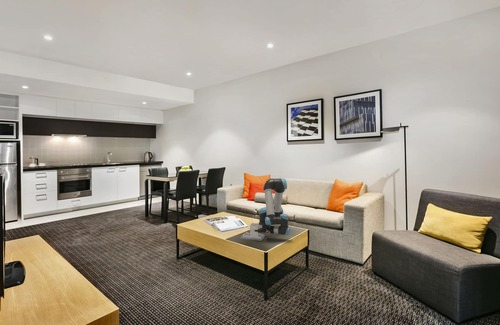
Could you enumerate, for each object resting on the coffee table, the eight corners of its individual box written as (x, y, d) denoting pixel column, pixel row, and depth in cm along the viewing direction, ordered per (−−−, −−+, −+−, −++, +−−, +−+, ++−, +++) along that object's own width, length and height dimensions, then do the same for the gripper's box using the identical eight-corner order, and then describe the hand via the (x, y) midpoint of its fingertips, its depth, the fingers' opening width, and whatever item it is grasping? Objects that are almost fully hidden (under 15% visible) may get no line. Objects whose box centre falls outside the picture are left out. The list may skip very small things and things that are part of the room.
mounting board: (245, 234, 273) (245, 231, 272) (265, 235, 266) (265, 233, 266) (240, 238, 257) (240, 236, 257) (261, 240, 251) (261, 238, 250)
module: (252, 235, 265) (251, 222, 265) (259, 235, 263) (259, 223, 262) (250, 237, 259) (250, 224, 259) (257, 237, 257) (257, 225, 256)
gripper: (271, 237, 242) (250, 235, 249) (277, 230, 266) (257, 228, 272) (271, 229, 242) (249, 227, 249) (277, 222, 265) (257, 221, 272)
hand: (253, 228), depth 261 cm, fingers open, 13 cm apart
